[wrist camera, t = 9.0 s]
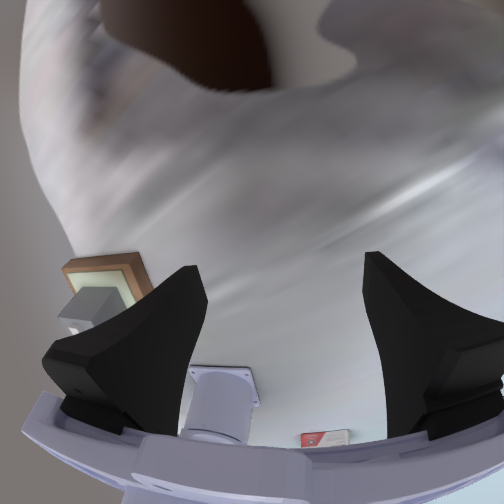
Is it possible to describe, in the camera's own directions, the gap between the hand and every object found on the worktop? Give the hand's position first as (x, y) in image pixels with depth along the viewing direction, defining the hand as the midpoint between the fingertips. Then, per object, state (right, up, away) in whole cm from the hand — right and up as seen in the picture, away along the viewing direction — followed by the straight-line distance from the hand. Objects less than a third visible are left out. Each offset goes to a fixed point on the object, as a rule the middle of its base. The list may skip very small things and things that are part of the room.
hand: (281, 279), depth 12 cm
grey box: (-16, -6, +15) cm, 23 cm away
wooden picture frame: (-16, -5, +17) cm, 24 cm away
